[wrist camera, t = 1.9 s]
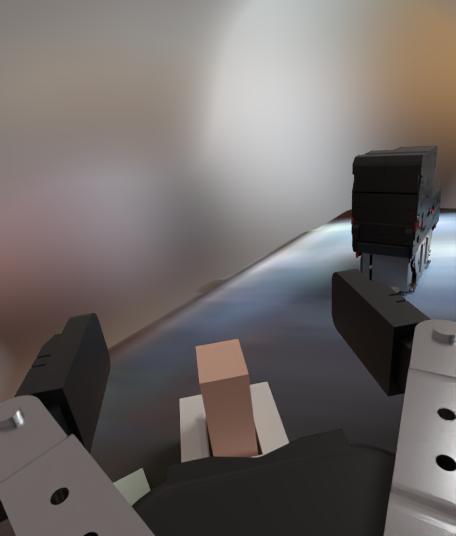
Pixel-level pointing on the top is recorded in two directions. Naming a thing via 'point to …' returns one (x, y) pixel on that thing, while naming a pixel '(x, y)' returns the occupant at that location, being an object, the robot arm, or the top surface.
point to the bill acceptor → (395, 213)
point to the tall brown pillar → (227, 399)
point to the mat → (133, 486)
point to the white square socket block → (197, 431)
